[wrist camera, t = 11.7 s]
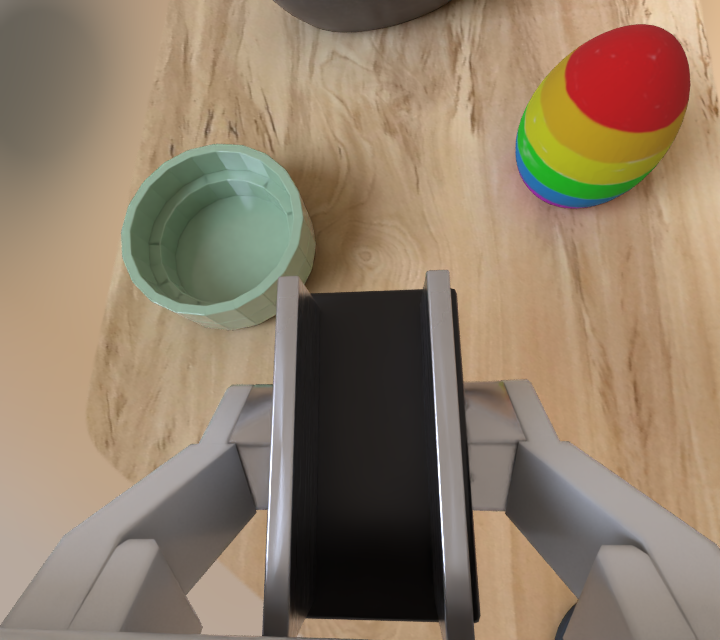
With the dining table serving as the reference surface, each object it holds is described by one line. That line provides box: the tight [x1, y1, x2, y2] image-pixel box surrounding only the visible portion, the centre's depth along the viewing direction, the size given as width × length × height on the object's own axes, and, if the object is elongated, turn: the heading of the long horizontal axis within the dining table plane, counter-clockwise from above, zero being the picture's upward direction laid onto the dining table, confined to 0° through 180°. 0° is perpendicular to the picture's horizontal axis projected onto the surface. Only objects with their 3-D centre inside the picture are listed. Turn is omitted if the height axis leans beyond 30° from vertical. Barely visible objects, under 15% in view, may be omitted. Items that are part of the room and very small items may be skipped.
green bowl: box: [121, 144, 316, 330], centre depth 26 cm, size 11×11×4 cm
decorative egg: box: [516, 24, 690, 208], centre depth 23 cm, size 8×8×10 cm
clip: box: [262, 270, 480, 640], centre depth 9 cm, size 5×3×9 cm, turn 1°
